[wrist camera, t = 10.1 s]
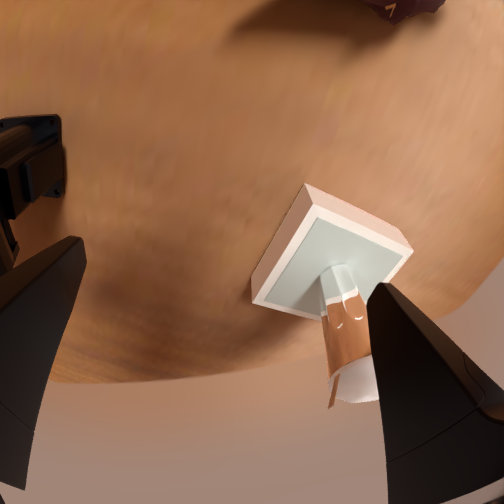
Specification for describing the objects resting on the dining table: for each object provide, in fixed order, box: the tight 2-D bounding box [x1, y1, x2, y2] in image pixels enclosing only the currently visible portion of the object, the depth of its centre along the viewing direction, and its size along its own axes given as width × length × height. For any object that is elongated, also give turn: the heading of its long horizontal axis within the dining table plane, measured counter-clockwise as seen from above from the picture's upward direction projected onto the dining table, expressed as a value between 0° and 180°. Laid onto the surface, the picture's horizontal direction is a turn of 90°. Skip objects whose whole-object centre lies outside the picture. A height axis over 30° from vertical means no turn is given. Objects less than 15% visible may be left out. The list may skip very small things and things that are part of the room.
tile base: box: [251, 183, 414, 322], centre depth 22 cm, size 9×9×3 cm
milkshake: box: [317, 263, 379, 409], centre depth 16 cm, size 4×5×10 cm
